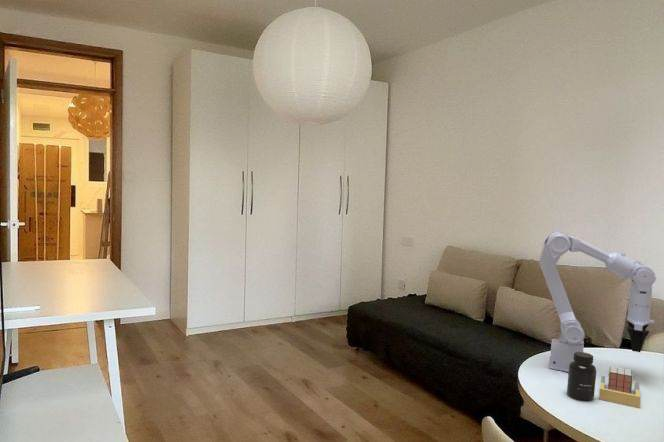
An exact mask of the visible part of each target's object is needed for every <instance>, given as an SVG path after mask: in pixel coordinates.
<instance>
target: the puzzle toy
mask: <svg viewBox="0 0 664 442" xmlns="http://www.w3.org/2000/svg"><path fill="white" fill-rule="evenodd" d="M608 370H609V371H608V387H607V389H610V390H615V391H620V392H625V393H630V394H632V388H633V386H632V385H633V371H632V369H629V368H627V369H626V368H623V367H621V368H620V367H616V366H609V368H608Z"/></svg>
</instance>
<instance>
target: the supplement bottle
mask: <svg viewBox="0 0 664 442" xmlns="http://www.w3.org/2000/svg"><path fill="white" fill-rule="evenodd" d="M573 360H574V361H572V362H571V363H570V364H569V372H567V373H568V375H567V385H566V393H567V395H568V396H569V397H570V398H572V399H574V400H576V401H581V402H590V401H592V400H593V401H594V398H595V392H596V391H595V390H596V378H597V368H596V367H595V365H593V364H594V356H593V354H591V353H588V352H584V351H583V352H575V353H574V357H573Z"/></svg>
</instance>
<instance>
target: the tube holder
mask: <svg viewBox="0 0 664 442" xmlns="http://www.w3.org/2000/svg"><path fill="white" fill-rule="evenodd" d="M640 389H641V388H640V382H637V381H635V382H634V389H633V390H634V393H631V394H630V393H625V392H620V391H615V390H610V389H608V388H606V375H601V377H600V386H599V394H598V396H599V397H598V399H599V400H600V399H601V401H605V400H606V402H609V401H610V402H611V403H614V404H618V405H625V406H628V407H633V408H637V409H640V407H641V391H640Z"/></svg>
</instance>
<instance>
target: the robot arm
mask: <svg viewBox="0 0 664 442" xmlns="http://www.w3.org/2000/svg"><path fill="white" fill-rule="evenodd" d="M568 251H570V252H571V253H576V252H581V253H583V254H584V255H587V256H590V257H591V258H594V259H596V260H599V261H601V262H603V263H604V266H605V268H606V269H607V270H609V271H612V272H613V273H616V274H617V275H620V276H622V277H624V278H625V279H630V288H629V295H628V297H629V298H628V308H627V316H626V320H627V321H626V322H627V324H628V326H626V329H627V332H628V334H629V338H630V346H631V350H632V352H636V353H641V352H642V349H643V346H644V342H645V339H646V338H647V336H648V335H649V333H650V330H646V329H647V327H649V324H655V320H654V319H651V318H650V317H651V308H652V307H651V306H652V296H653V290H652V289H653V284H654V283H655V282H656V281H657V277H656V274H655V272H654V270H653V269H652V268H650V267H648V266H647V265H645V264H644V263H642V262H641V261H639V260H634V259H633V258H629V257H627V256H626V254H625V253H623V252H622V251H620V252H619V253H618V252H617V251H615V252H612V253H609V252H607V251H605V250H603V249H601V248H599V247H597V246H595V245H593V244H591V243H589V242H587V241H585V240H583V239H582V238H579V237H576V236H572V235H571V234H570V235H569V234H565V233H564V232H562V231H559V230H558V231H557V230H556V231H553V232H550V233H549V234H548V236H547V237H546V238H545V240H544V241H543V245H542V249H541V252H540V255H539V258H538V263H539V267H540V268H541V272H542V274H543V277H544V280H545V283H546V286H547V288H548V290H549V293H550V296H551V298H552V299H551V300H552V302H553V305H554V306H555V310H556V312H557V315H558V318H559V319H560V321H559V322H560V323H559V328H560V331H561V335H560V336H559V337H558V338H552V340H551V346H550V356H549V369H551V370H557V371H561V372H567V373H568V372H569V364H570V363H571V362H572V361H574V360H573V357H574V353H575V352H584V348H585V346H584V344H585V341H584V339H585V335H586V334H585V330H584V329H583V328H582V324H581V322H580V321H579V320H578V319H577V318H576V316H575V313H574V311H573V308H572V306H571V302H570V301H569V298H568V295H567V292H566V289H565V287H564V284H563V281H562V279H561V276H560V273H559V271H558V268H557V263H558V262H559V260H560V258H561V257H562V256H563V255H565V254H566V253H568Z"/></svg>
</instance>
